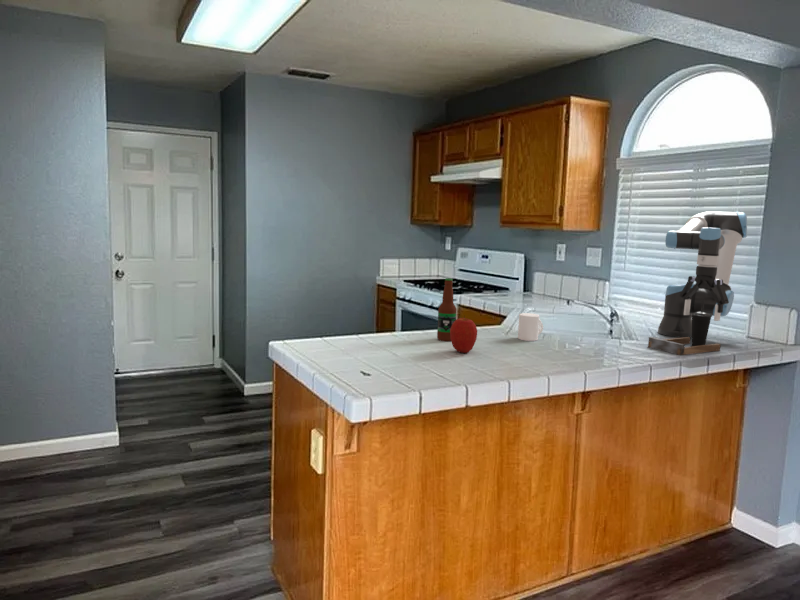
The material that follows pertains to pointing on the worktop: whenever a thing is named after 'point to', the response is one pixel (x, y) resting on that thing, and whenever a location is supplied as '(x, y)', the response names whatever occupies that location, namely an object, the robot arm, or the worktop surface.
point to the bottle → (446, 312)
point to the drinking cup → (700, 326)
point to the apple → (463, 334)
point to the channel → (680, 346)
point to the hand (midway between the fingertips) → (701, 317)
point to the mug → (529, 327)
